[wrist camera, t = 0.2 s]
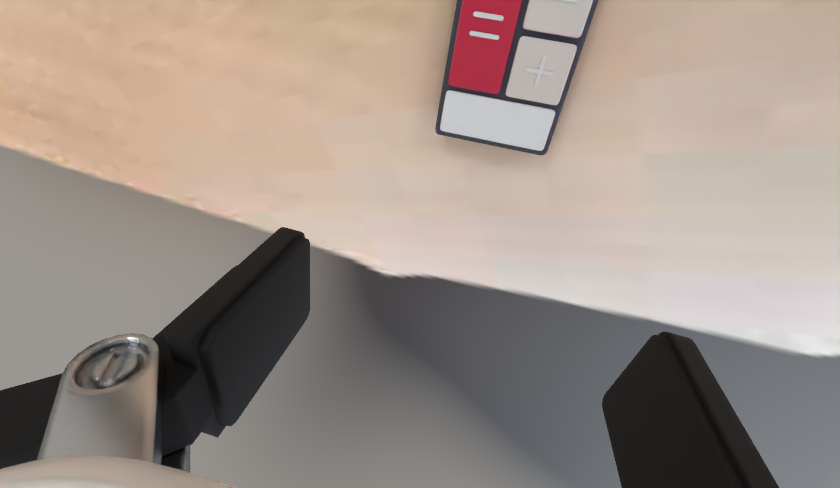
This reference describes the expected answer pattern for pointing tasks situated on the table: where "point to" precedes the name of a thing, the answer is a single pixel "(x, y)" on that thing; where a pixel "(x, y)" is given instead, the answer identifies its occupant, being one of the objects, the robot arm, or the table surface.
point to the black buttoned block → (511, 70)
